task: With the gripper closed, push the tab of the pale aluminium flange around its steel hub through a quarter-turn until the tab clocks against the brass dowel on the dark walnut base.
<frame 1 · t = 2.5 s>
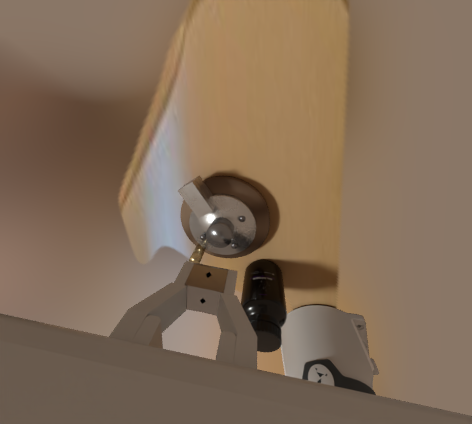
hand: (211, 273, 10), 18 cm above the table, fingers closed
supplement bottle: (262, 272, 34), on the table
walnut base: (225, 218, 29), on the table
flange: (215, 222, 26), point 4 cm above the table, hinge at 0.0°
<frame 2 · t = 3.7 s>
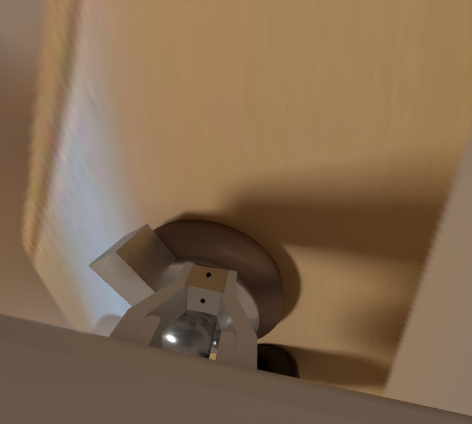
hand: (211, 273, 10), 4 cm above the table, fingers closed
supplement bottle: (266, 357, 21), on the table
walnut base: (205, 285, 17), on the table
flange: (180, 312, 13), point 4 cm above the table, hinge at 0.0°
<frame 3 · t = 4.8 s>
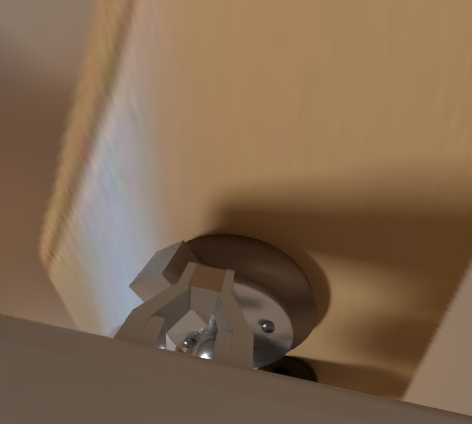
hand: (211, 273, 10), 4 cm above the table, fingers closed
supplement bottle: (284, 369, 21), on the table
walnut base: (231, 298, 17), on the table
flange: (213, 330, 13), point 4 cm above the table, hinge at 0.4°, touching gripper
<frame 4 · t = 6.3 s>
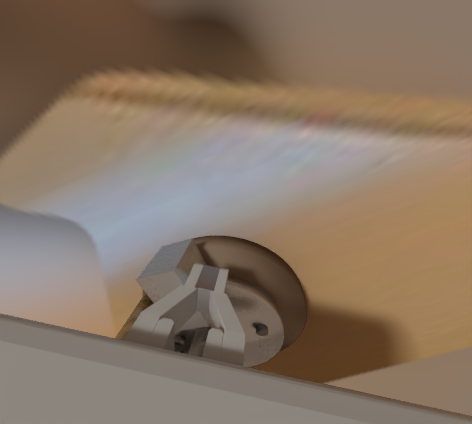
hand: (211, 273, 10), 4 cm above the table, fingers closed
walnut base: (224, 299, 17), on the table
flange: (209, 329, 13), point 4 cm above the table, hinge at 49.7°, touching gripper
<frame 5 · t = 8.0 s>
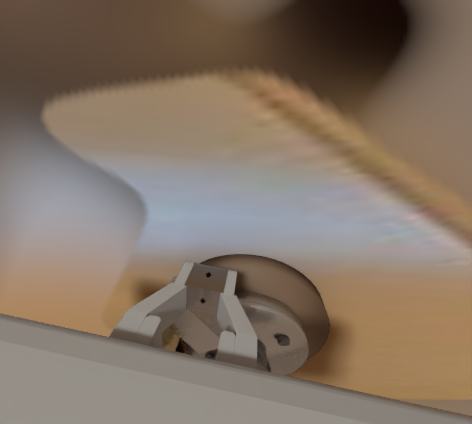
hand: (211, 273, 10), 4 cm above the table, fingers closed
walnut base: (246, 312, 17), on the table
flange: (232, 346, 14), point 4 cm above the table, hinge at 87.6°
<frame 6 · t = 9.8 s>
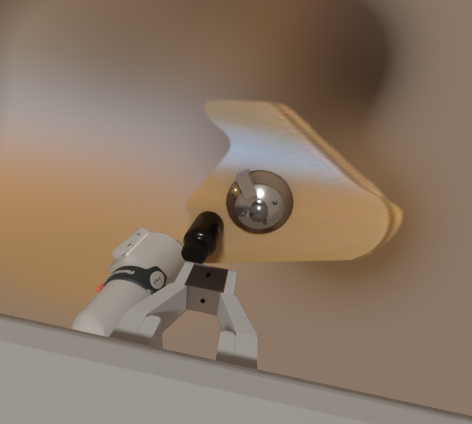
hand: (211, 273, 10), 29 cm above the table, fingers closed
supplement bottle: (210, 222, 44), on the table
walnut base: (259, 202, 39), on the table
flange: (255, 203, 36), point 4 cm above the table, hinge at 87.7°
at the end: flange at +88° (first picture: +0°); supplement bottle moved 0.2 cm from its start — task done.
